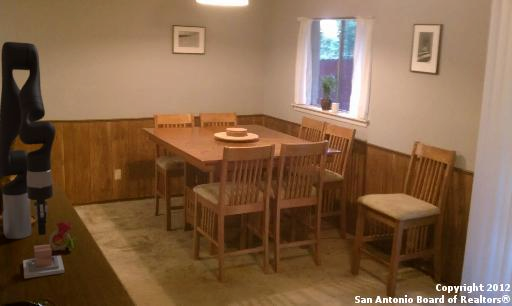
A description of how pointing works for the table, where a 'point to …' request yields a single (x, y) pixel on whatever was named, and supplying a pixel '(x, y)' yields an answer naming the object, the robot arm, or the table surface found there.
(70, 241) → the bird rattle
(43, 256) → the terracotta block
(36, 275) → the socket plate
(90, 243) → the table surface
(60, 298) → the table surface
